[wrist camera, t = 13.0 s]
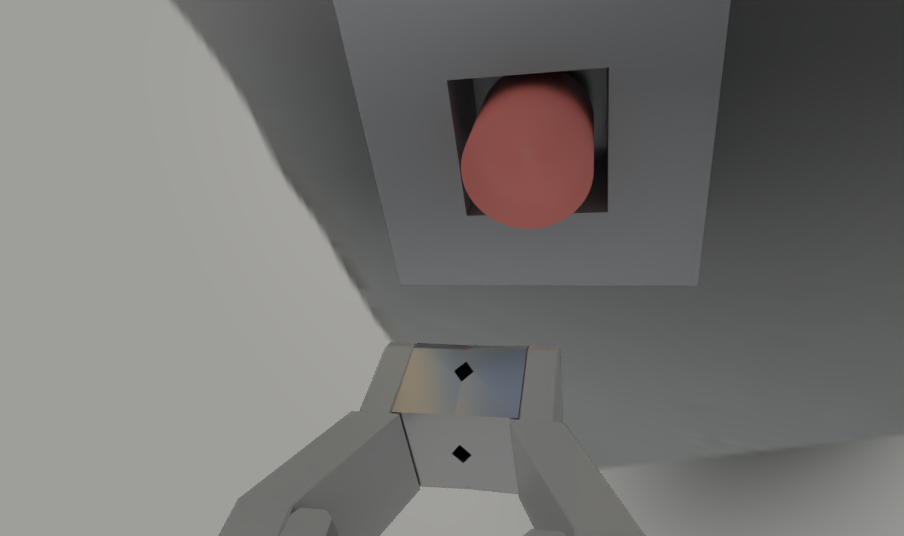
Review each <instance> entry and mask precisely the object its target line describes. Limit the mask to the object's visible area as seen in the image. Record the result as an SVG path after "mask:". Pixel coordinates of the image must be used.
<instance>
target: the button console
mask: <svg viewBox="0 0 904 536" xmlns="http://www.w3.org/2000/svg"><path fill="white" fill-rule="evenodd" d="M730 3H731V0H333V4H334V8H335V12H336V16H337V20H338V25H339V29H340V33H341V37H342V41H343V46H344V50H345V54H346V58H347V62H348V67H349V71H350V75H351V79H352V83H353V88H354V92H355V96H356V100H357V104H358V109H359V113H360V117H361V121H362V126H363V130H364V134H365V138H366V142H367V147H368V151H369V155H370V159H371V163H372V168H373V172H374V176H375V180H376V184H377V189H378V193H379V197H380V201H381V205H382V210H383V214H384V218H385V222H386V227H387V231H388V235H389V239H390V243H391V248H392V252H393V256H394V260H395V264H396V269H397V273H398V277H399V281H400V285H578V286H698V279H699V270H700V262H701V253H702V245H703V236H704V227H705V219H706V210H707V201H708V193H709V184H710V176H711V167H712V158H713V150H714V141H715V132H716V124H717V115H718V107H719V98H720V89H721V81H722V72H723V64H724V55H725V46H726V38H727V29H728V20H729V12H730ZM558 71H563V72H565V73H567V74H569V75H570V76H572V77H573V78H574V79H575V80H577V81H578V82H579V83H580V84H581V86H582V87H583V88H584V90H585V91H586V93H587V94H588V96H589V98H590V101H591V103H592V107H593V112H594V174H593V181H592V186H591V188H590V191H589V193H588V195H587V197H586V199H585V200H584V202H583V203H582V204H581V206H580V207H579V208H578V209H577V210H576V211H575V212H574V213H572V214H571V215H570V216H569V217H567V218H565V219H564V220H562V221H560V222H558V223H556V224H553V225H550V226H547V227H541V228H533V229H525V228H516V227H511V226H508V225H505V224H502V223H499V222H497V221H495V220H493V219H492V218H490V217H489V216H487V215H486V214H484V213H483V212H482V211H481V210H480V209H479V208H478V207H477V206H476V205H475V204H474V203H473V201H472V200H471V198H470V197H469V195H468V193H467V191H466V189H465V187H464V184H463V180H462V175H461V159H462V155H463V151H464V148H465V146H466V143H467V141H468V138H469V136H470V133H471V131H472V128H473V126H474V124H475V121H476V119H477V116H478V114H479V111H480V109H481V107H482V104H483V102H484V99H485V97H486V95H487V93H488V92H489V90H490V89H491V88H492V86H493V85H494V84H495V83H496V82H497V81H498V80H499V79H501V78H502V77H503V76H508V75H520V74H533V73H545V72H558Z"/></svg>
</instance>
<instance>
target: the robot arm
mask: <svg viewBox="0 0 904 536" xmlns="http://www.w3.org/2000/svg"><path fill="white" fill-rule="evenodd" d="M419 486H422V487H441V488H461V489H475V490H483V491H492V492H502V493H512V494H518V495H519V499H520V501H521V503H522V505H523V507H524V508H525V511H526V513H527V515H528V517H529V519H530V521H531V523H532V525H533V527H534V529H531V530H530V531H529V532H527V533H526V534H525V535H524V536H645V534H644V533H643V531H642V530H641V529H640V527H639V526H638V524H637V523H636V522H635V520H634V519H633V518H632V516H631V515H630V513H629V512H628V511H627V509H626V508H625V506H624V505H623V504H622V502H621V501H620V499H619V498H618V497H617V495H616V494H615V492H614V491H613V490H612V488H611V487H610V485H609V484H608V483H607V481H606V480H605V479H604V477H603V476H602V474H601V473H600V472H599V470H598V469H597V467H596V466H595V465H594V463H593V462H592V460H591V459H590V458H589V456H588V455H587V453H586V452H585V451H584V449H583V448H582V446H581V445H580V444H579V442H578V441H577V439H576V438H575V437H574V435H573V434H572V433H571V431H570V430H569V428H568V427H567V426H566V424H565V423H564V422H563V393H562V372H561V352H560V348H559V347H558V346H477V345H473V346H469V345H448V344H426V343H417V344H412V343H393V342H391V343H390V344H389V345H388V346H387V347H386V348H385V349H384V352H383V354H382V357H381V359H380V361H379V364H378V367H377V369H376V371H375V374H374V376H373V379H372V381H371V384H370V387H369V389H368V391H367V394H366V396H365V399H364V401H363V404H362V406H361V409H360V411H359V412H356V411H355V412H354V411H351V412H350V413H349V414H347V415H346V416H345V417H343V418H342V419H341V420H340V421H338V422H337V423H336V424H334V425H333V426H332V427H331V428H329V429H328V430H327V431H325V432H324V433H323V434H321V435H320V436H319V437H317V438H316V439H315V440H314V441H312V442H311V443H310V444H309V445H307V446H306V447H305V448H303V449H302V450H301V451H300V452H298V453H297V454H296V455H294V456H293V457H292V458H290V460H288V461H287V462H285V463H284V464H283V465H282V466H280V467H279V468H278V469H276V470H275V471H274V472H272V473H271V474H270V475H268V476H267V477H266V478H265V479H263V480H262V481H261V482H260V483H258V484H257V485H256V486H254V487H253V488H252V489H250V490H249V491H248V492H246V493H245V494H244V495H243V496H241V497H240V498H239V499H238V500H237V502H236V504H235V506H234V508H233V509H232V511H231V513H230V515H229V517H228V519H227V521H226V523H225V524H224V526H223V528H222V530H221V532H220V534H219V536H380V535H381V533H382V532H383V531H384V530H385V529H386V528H387V527H388V525H389V524H390V523H391V522H392V521H393V520H394V519H395V517H396V516H397V515H398V514H399V513H400V512H401V511H402V509H403V508H404V507H405V506H406V505H407V504H408V503H409V501H410V500H411V499H412V498H413V497H414V496H415V495H416V493H417V492H418V491H419V490H420V487H419Z"/></svg>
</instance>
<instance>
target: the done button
mask: <svg viewBox="0 0 904 536" xmlns="http://www.w3.org/2000/svg"><path fill="white" fill-rule="evenodd" d="M593 174H594V112H593V107H592V103H591V101H590V98H589V96H588V94H587V93H586V91H585V90H584V88H583V87H582V86H581V84H580V83H579V82H578V81H577V80H575V79H574V78H573V77H572V76H570V75H569V74H567V73H565V72H563V71H558V72H545V73H533V74H520V75H508V76H503V77H502V78H501V79H499V80H498V81H497V82H496V83H495V84H494V85H493V86H492V88H491V89H490V90H489V92H488V93H487V95H486V97H485V99H484V102H483V104H482V107H481V109H480V111H479V114H478V116H477V119H476V121H475V124H474V126H473V128H472V131H471V133H470V136H469V138H468V141H467V143H466V146H465V148H464V151H463V155H462V159H461V175H462V180H463V184H464V187H465V189H466V191H467V193H468V195H469V197H470V198H471V200H472V201H473V203H474V204H475V205H476V206H477V207H478V208H479V209H480V210H481V211H482V212H483V213H484V214H486V215H487V216H489V217H490V218H492V219H493V220H495V221H497V222H499V223H502V224H505V225H508V226H511V227H516V228H525V229H533V228H541V227H547V226H550V225H553V224H556V223H558V222H560V221H562V220H564V219H565V218H567V217H569V216H570V215H571V214H572V213H574V212H575V211H576V210H577V209H578V208H579V207H580V206H581V204H582V203H583V202H584V200H585V199H586V197H587V195H588V193H589V191H590V188H591V186H592V181H593Z"/></svg>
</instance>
